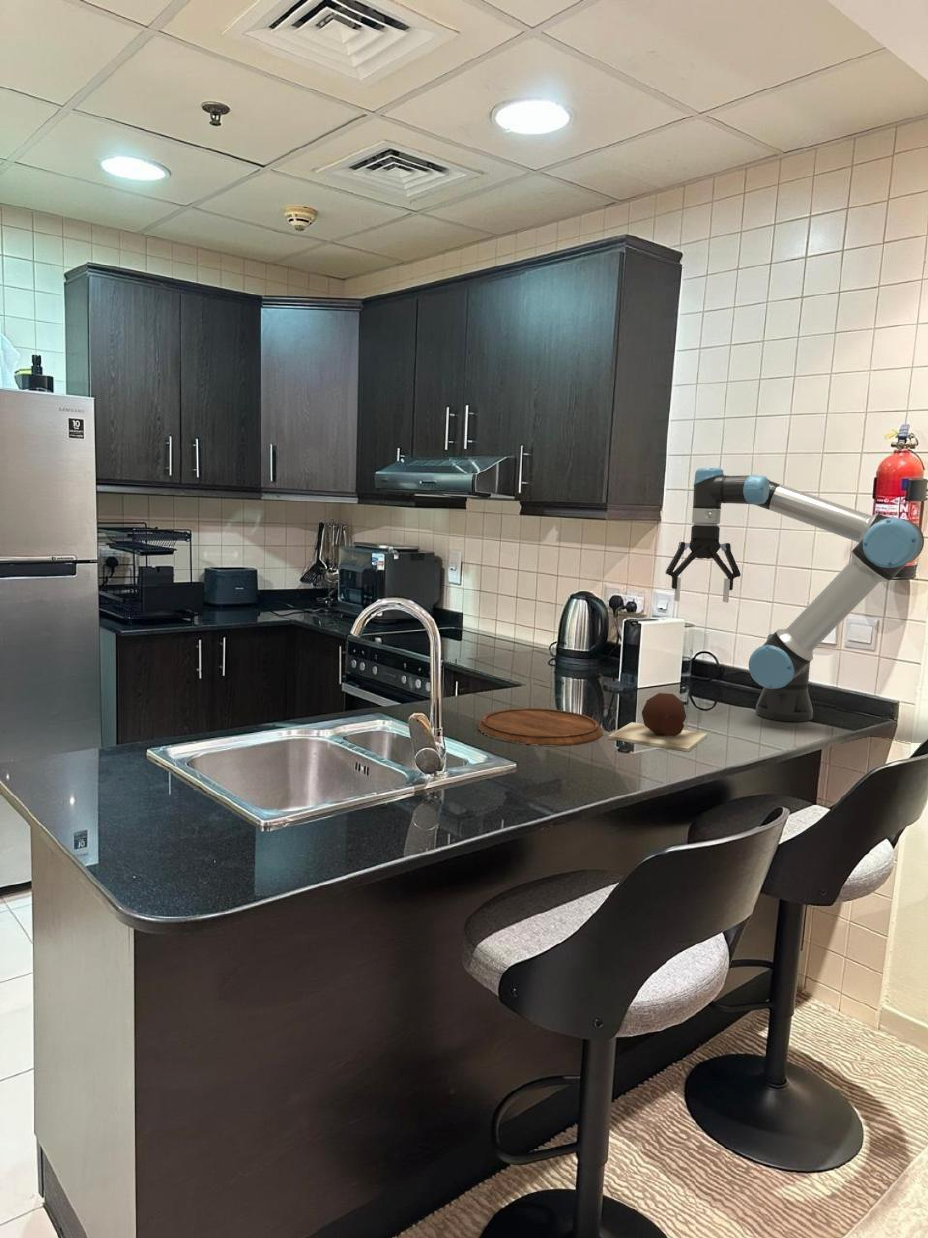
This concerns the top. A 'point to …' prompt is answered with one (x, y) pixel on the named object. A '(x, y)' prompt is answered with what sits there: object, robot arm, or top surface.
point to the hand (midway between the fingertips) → (701, 601)
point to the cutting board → (541, 726)
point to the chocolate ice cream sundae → (664, 714)
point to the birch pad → (657, 737)
